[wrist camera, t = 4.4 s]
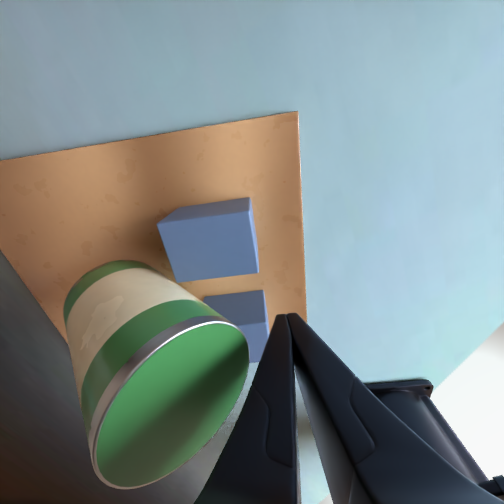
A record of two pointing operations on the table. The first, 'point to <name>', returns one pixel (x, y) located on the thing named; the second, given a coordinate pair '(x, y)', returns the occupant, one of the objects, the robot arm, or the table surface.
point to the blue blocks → (220, 260)
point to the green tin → (149, 370)
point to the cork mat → (156, 208)
